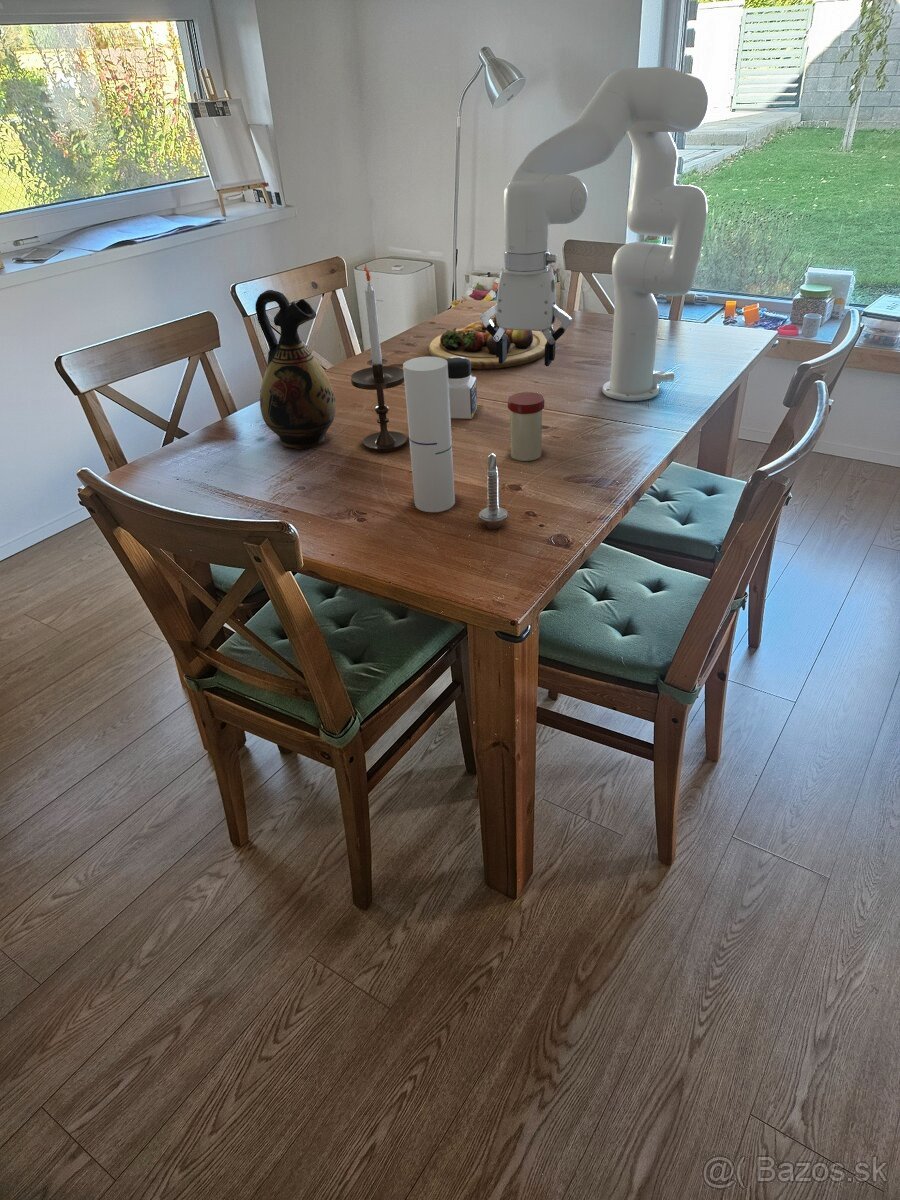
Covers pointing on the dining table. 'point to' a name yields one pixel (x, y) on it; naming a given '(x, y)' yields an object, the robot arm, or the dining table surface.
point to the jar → (526, 435)
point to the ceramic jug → (293, 378)
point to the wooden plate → (488, 346)
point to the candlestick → (378, 382)
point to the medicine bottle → (461, 388)
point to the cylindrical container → (430, 432)
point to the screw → (493, 498)
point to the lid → (526, 403)
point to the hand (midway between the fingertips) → (525, 362)
